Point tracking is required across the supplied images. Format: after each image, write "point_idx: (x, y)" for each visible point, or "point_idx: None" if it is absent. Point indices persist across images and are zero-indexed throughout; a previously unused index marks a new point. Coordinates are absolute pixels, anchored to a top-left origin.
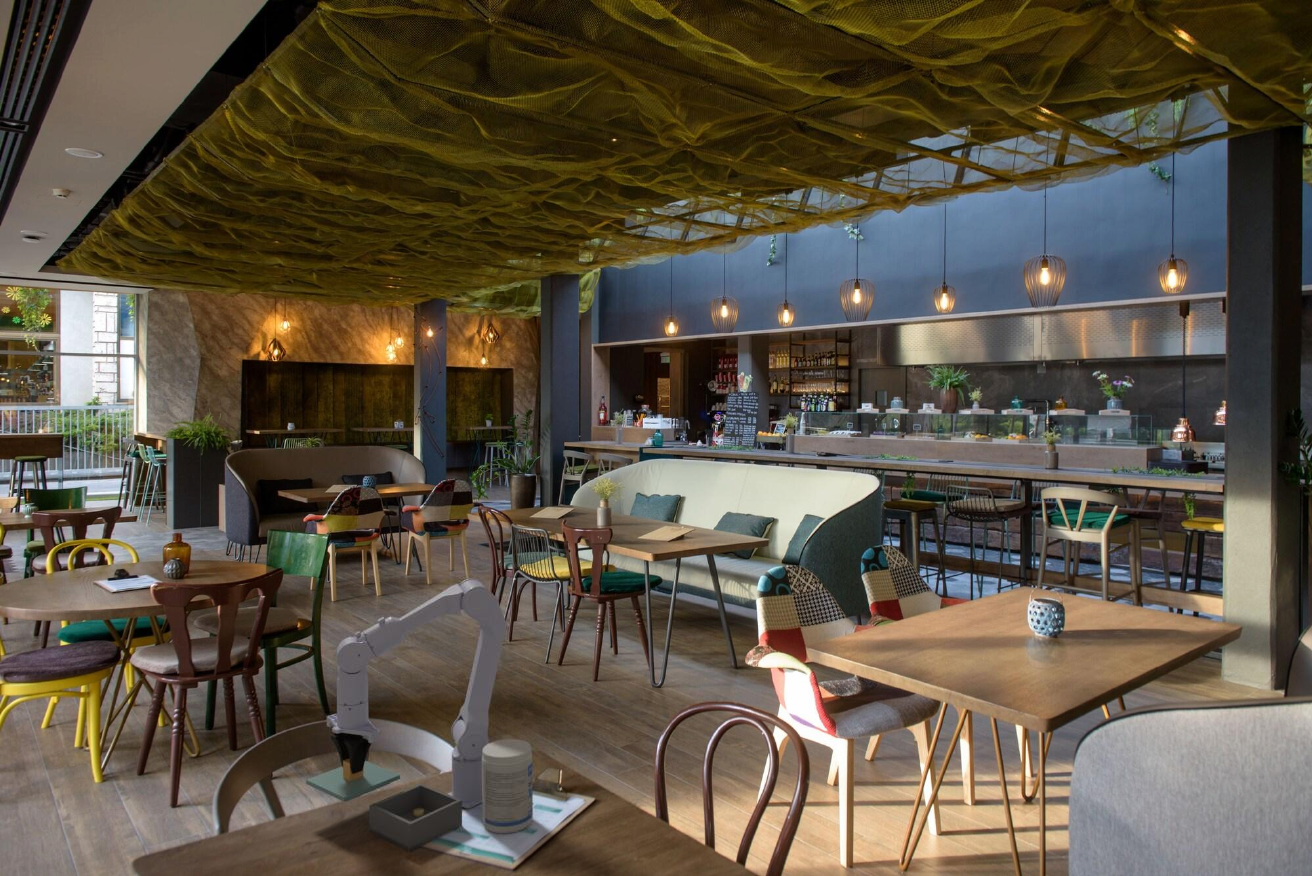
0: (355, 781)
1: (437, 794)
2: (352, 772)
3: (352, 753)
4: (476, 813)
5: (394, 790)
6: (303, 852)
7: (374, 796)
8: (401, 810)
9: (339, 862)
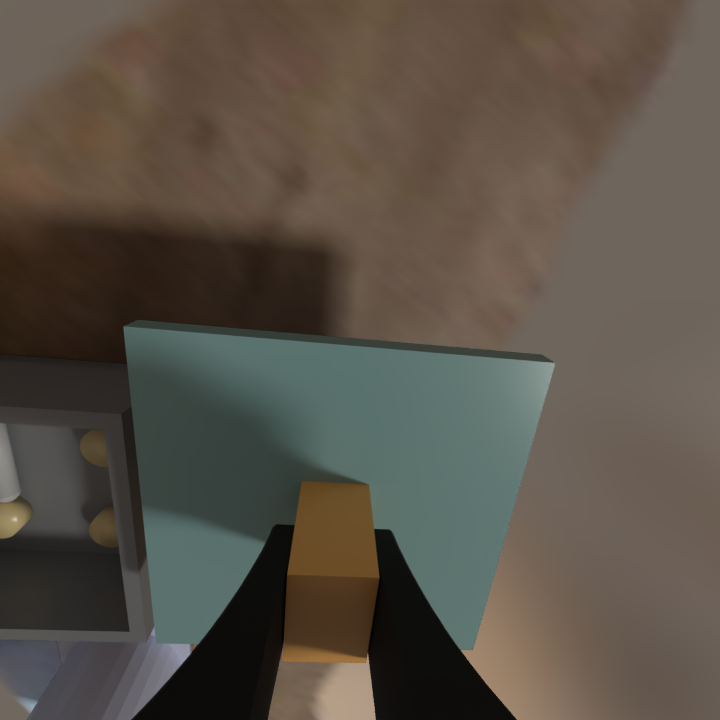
0: (274, 495)
1: (22, 620)
2: (282, 528)
3: (174, 679)
4: None
5: None
6: (240, 106)
7: None
8: None
9: (36, 133)
